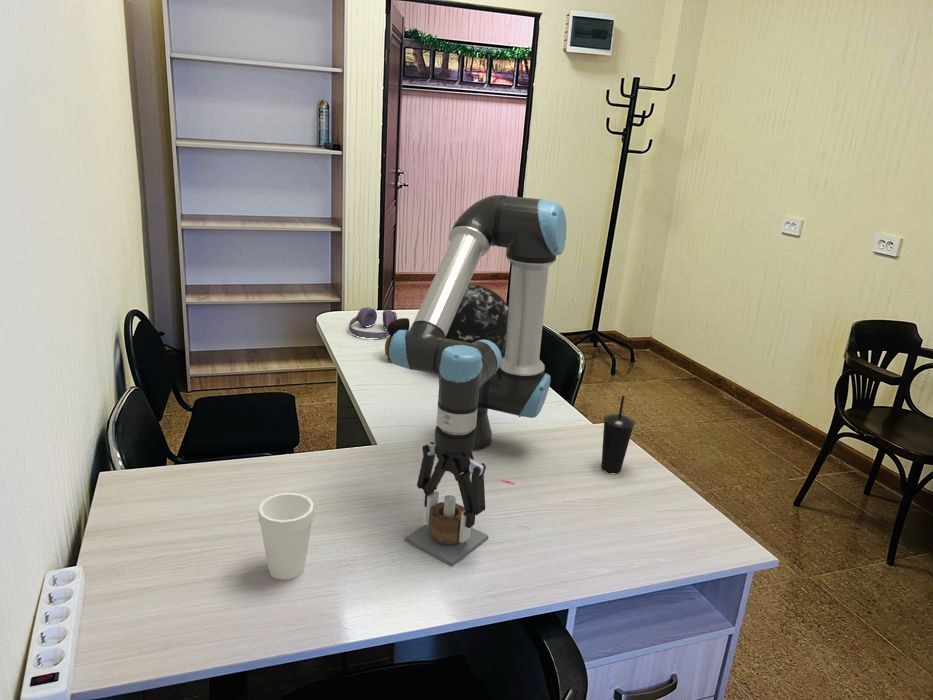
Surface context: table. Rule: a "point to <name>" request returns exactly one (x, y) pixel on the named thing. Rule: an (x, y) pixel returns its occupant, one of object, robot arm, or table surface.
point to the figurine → (393, 328)
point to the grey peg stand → (446, 551)
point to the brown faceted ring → (445, 524)
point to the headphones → (372, 322)
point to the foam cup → (286, 533)
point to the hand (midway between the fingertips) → (447, 530)
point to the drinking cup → (615, 440)
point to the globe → (480, 318)
